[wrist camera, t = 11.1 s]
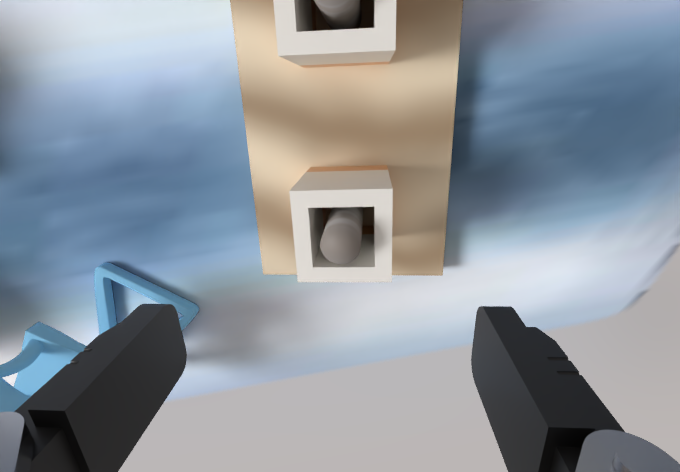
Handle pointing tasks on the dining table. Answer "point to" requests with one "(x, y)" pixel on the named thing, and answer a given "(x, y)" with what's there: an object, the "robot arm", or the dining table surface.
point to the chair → (59, 349)
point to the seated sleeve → (333, 36)
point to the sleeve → (342, 191)
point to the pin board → (353, 128)
